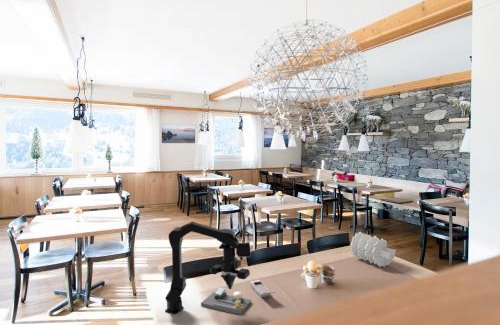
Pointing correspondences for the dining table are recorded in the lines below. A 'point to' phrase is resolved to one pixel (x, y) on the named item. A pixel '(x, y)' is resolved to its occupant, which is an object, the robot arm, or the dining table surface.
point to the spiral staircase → (372, 249)
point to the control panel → (225, 303)
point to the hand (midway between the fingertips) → (230, 288)
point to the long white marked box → (260, 288)
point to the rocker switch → (220, 291)
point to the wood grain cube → (238, 304)
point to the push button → (237, 295)
